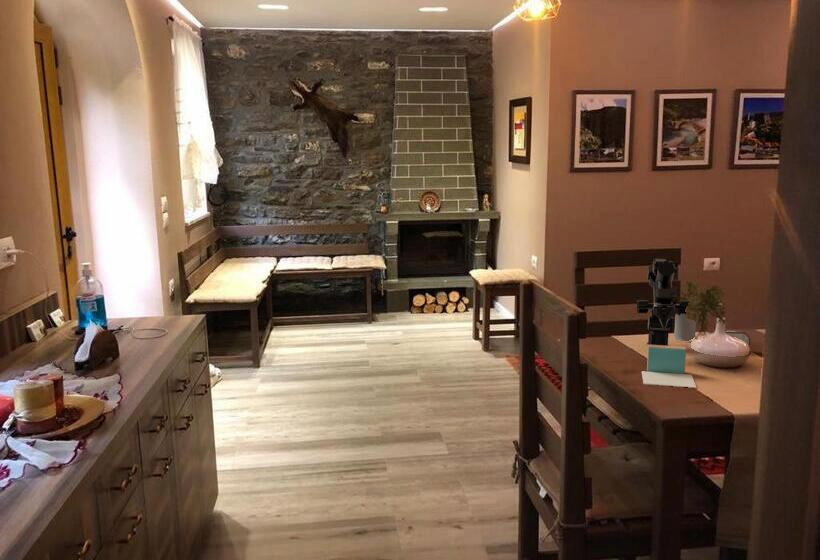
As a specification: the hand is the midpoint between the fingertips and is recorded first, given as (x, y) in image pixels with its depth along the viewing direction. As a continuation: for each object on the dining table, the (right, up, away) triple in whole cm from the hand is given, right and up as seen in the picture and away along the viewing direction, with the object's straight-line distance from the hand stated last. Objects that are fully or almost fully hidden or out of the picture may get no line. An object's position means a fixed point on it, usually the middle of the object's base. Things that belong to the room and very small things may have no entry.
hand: (664, 327), depth 240 cm
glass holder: (+20, -7, +34) cm, 40 cm away
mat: (-6, -16, -19) cm, 25 cm away
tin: (+30, -10, +13) cm, 34 cm away
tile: (-3, -15, -10) cm, 18 cm away
